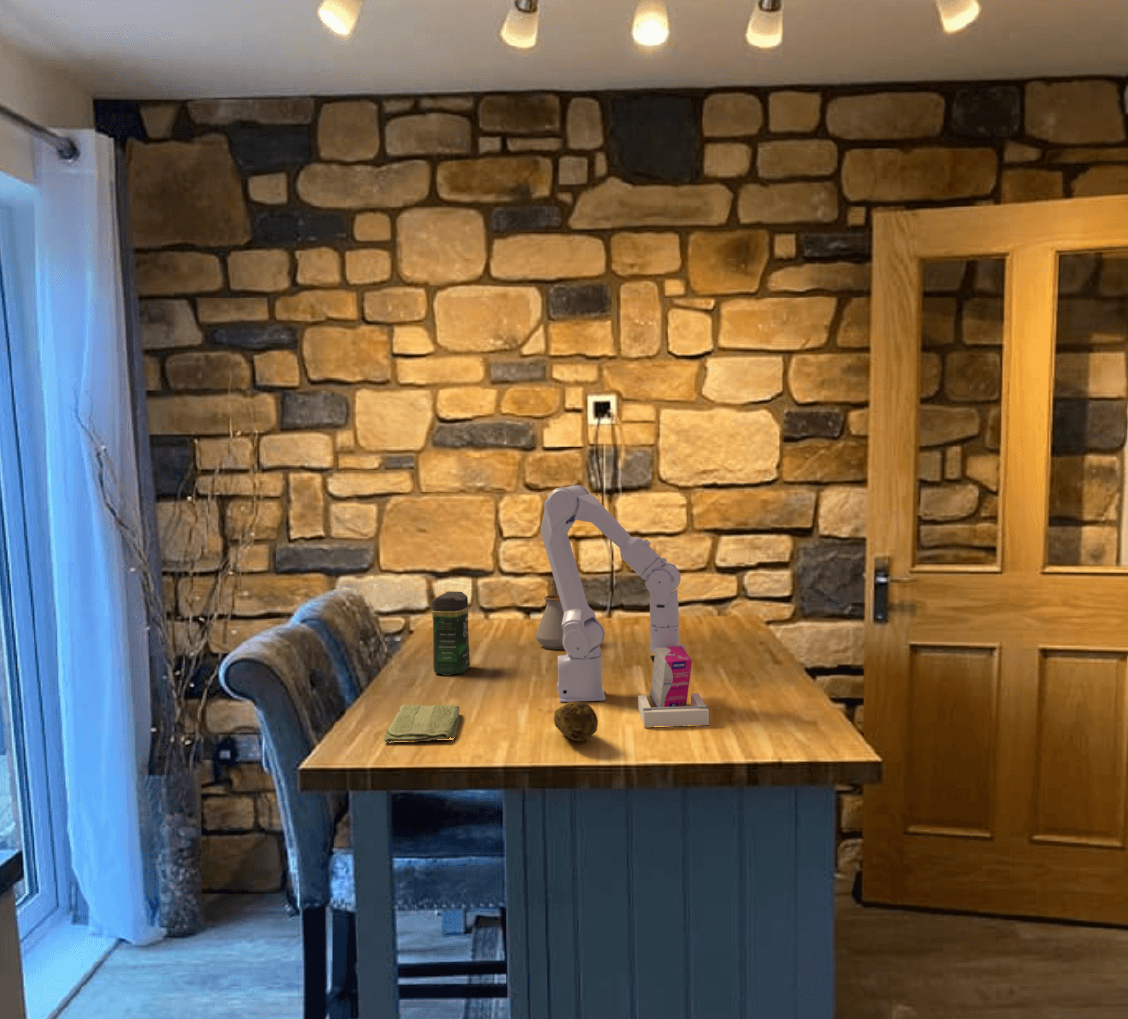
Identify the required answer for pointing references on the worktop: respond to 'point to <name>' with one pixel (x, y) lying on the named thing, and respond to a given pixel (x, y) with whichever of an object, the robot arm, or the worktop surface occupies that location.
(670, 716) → the dock
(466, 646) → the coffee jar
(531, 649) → the worktop surface
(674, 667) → the supplement box
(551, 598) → the coffee pot
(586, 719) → the potato
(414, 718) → the washcloth
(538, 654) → the worktop surface
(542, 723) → the worktop surface
